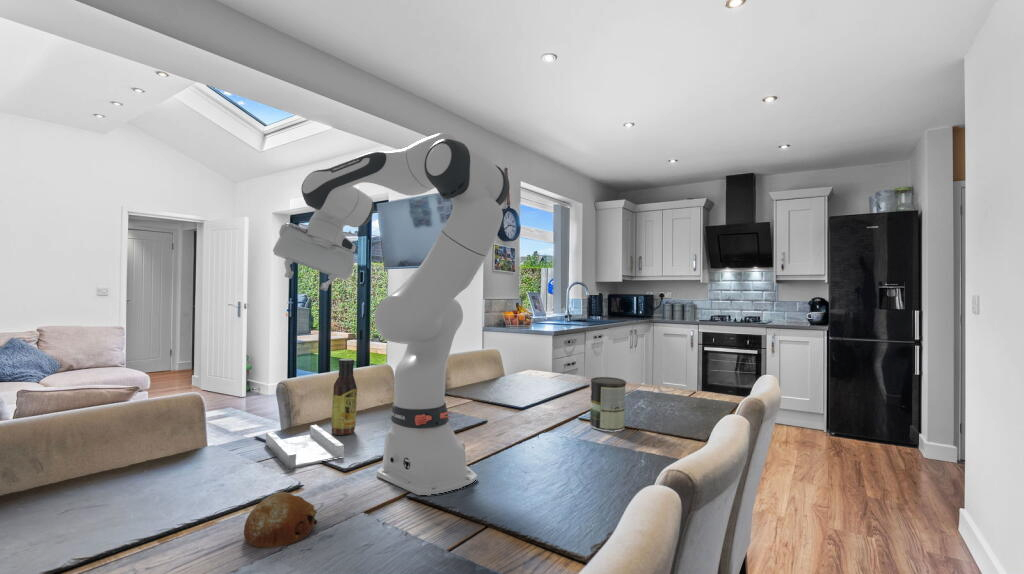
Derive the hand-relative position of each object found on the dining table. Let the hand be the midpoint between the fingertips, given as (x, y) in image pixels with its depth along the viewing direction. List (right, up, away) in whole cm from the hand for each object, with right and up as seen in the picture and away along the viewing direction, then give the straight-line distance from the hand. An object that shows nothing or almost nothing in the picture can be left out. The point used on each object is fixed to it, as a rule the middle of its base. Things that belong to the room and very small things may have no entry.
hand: (306, 283), depth 125 cm
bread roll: (+17, -41, -48) cm, 65 cm away
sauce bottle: (+8, -41, +4) cm, 42 cm away
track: (+4, -40, -11) cm, 42 cm away
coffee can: (+83, -43, +17) cm, 95 cm away
